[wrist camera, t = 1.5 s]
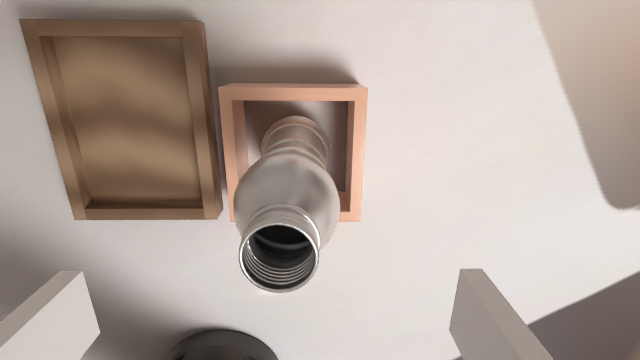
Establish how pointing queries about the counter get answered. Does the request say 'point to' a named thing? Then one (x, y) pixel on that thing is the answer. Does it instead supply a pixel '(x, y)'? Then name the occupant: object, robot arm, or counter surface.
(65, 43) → the tray
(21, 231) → the counter surface
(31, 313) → the robot arm
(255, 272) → the plastic bottle
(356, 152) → the wooden box frame
